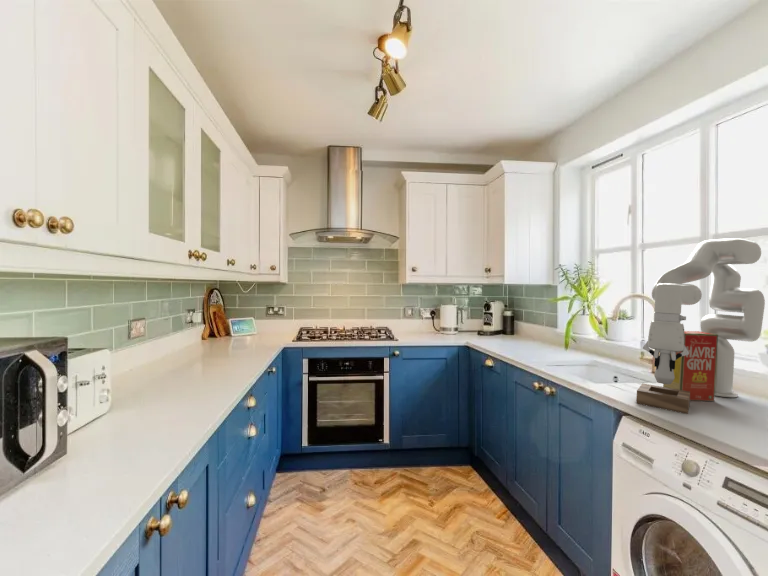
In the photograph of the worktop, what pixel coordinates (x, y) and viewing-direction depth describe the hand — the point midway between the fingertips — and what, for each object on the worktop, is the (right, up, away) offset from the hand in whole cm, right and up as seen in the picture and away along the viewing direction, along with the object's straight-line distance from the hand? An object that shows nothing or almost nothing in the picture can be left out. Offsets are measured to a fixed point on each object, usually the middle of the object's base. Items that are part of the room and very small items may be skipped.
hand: (664, 369), depth 131 cm
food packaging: (+17, -13, +10) cm, 23 cm away
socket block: (0, -13, 0) cm, 13 cm away
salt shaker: (0, -5, 0) cm, 5 cm away
